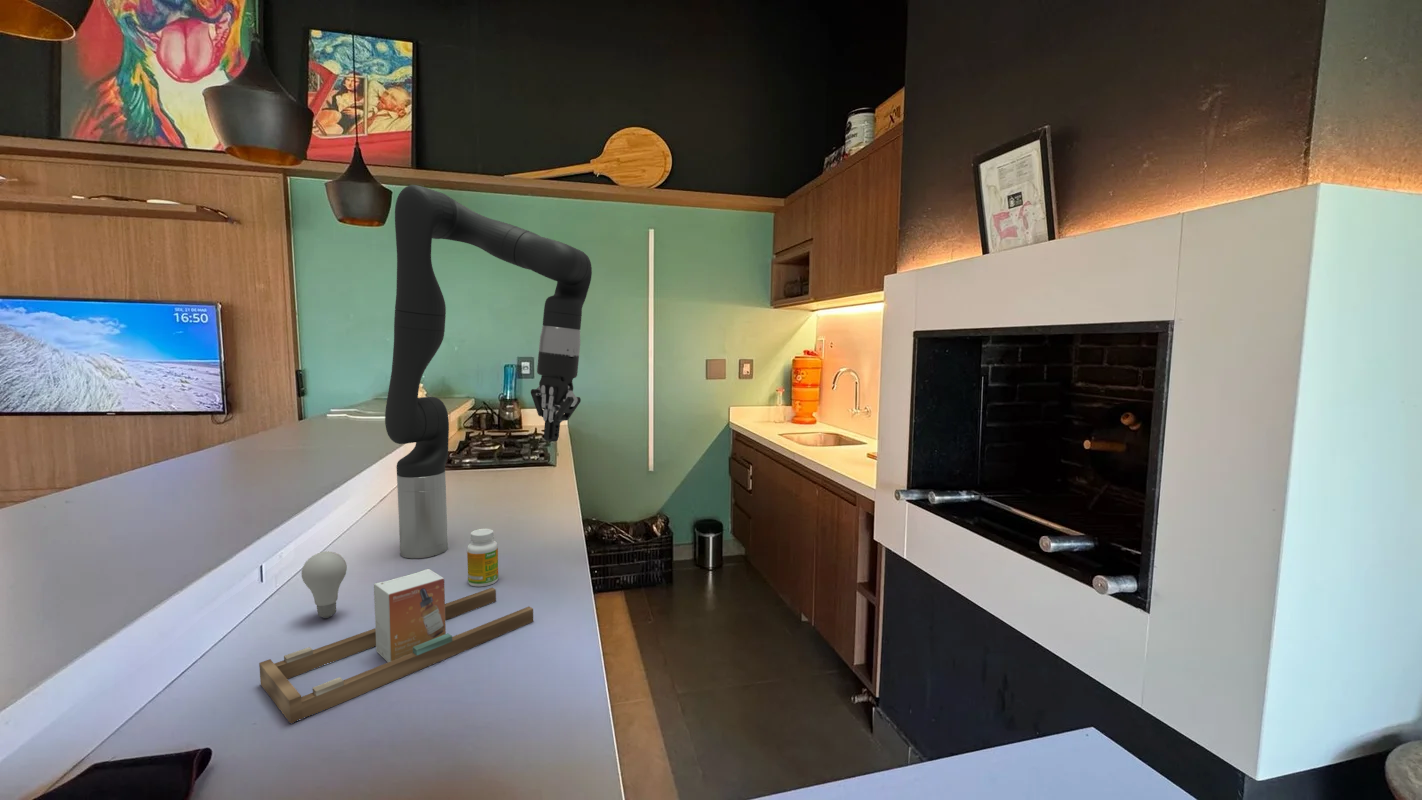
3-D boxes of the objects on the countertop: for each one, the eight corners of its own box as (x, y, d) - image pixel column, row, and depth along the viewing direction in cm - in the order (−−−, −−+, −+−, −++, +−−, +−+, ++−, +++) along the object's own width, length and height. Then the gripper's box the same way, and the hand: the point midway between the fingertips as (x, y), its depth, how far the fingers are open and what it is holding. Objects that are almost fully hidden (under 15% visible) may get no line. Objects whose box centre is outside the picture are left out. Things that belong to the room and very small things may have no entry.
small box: (390, 667, 81) (386, 594, 80) (375, 652, 84) (372, 583, 83) (447, 645, 87) (445, 577, 86) (431, 632, 90) (429, 567, 89)
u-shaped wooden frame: (260, 684, 76) (259, 662, 76) (492, 599, 102) (491, 583, 102) (290, 724, 68) (289, 700, 68) (533, 621, 94) (533, 603, 94)
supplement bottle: (487, 588, 106) (486, 537, 105) (461, 585, 107) (460, 535, 106) (504, 577, 111) (503, 528, 110) (479, 574, 113) (477, 526, 112)
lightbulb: (357, 612, 96) (354, 548, 95) (322, 629, 91) (319, 561, 90) (331, 606, 98) (327, 544, 97) (295, 622, 93) (291, 556, 92)
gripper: (521, 347, 111) (514, 435, 113) (565, 353, 103) (556, 448, 105) (554, 350, 117) (546, 434, 119) (597, 356, 109) (588, 446, 111)
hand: (550, 440), depth 112 cm, fingers closed
